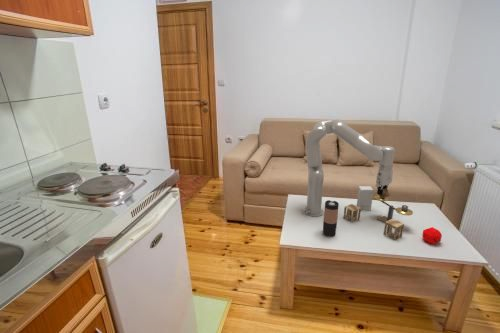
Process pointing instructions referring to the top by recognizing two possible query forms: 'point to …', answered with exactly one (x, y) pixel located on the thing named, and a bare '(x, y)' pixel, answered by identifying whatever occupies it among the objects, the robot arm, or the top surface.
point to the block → (384, 193)
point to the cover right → (395, 224)
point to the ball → (432, 235)
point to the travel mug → (330, 218)
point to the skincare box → (365, 197)
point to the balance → (392, 209)
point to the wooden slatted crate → (350, 213)
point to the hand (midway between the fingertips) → (381, 193)
